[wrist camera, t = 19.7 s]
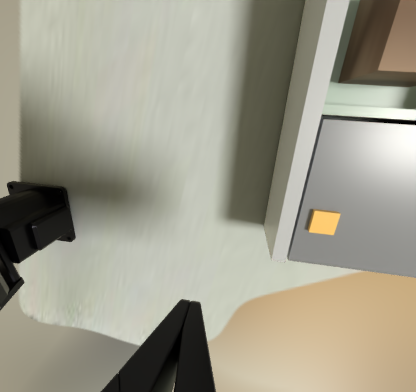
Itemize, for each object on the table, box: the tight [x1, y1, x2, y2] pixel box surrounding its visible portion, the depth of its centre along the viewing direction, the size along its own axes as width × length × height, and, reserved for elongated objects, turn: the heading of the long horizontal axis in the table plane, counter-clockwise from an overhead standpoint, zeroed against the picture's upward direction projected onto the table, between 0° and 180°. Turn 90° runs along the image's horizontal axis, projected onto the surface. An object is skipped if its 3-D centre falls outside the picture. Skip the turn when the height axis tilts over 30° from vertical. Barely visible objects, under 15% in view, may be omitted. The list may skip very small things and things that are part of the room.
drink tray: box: [264, 0, 416, 262], centre depth 14 cm, size 10×20×5 cm, turn 176°
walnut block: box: [338, 0, 416, 87], centre depth 11 cm, size 4×4×4 cm
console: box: [287, 119, 416, 278], centre depth 14 cm, size 9×20×5 cm, turn 176°
